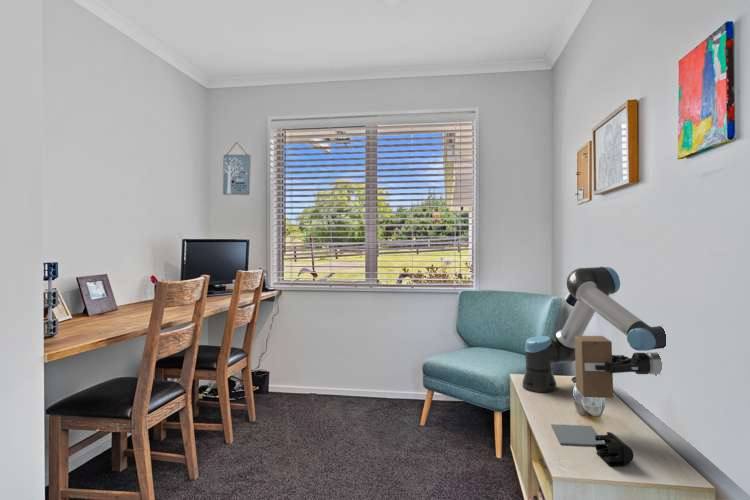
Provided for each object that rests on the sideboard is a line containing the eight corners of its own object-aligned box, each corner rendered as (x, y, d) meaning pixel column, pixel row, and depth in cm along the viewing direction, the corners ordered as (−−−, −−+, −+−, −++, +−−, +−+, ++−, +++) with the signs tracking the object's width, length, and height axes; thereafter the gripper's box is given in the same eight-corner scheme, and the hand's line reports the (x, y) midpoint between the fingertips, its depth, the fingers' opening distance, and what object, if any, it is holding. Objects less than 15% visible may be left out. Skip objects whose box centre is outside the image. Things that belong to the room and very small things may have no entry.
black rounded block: (634, 467, 135) (633, 445, 135) (610, 468, 136) (609, 445, 136) (617, 452, 145) (616, 431, 145) (595, 452, 146) (594, 431, 146)
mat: (551, 425, 168) (551, 424, 168) (591, 427, 165) (591, 425, 165) (560, 444, 152) (560, 442, 152) (605, 446, 149) (605, 444, 149)
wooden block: (613, 398, 158) (612, 341, 157) (583, 397, 159) (581, 341, 159) (604, 389, 167) (602, 335, 167) (576, 388, 169) (574, 335, 169)
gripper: (661, 383, 149) (590, 382, 153) (634, 365, 171) (572, 365, 175) (661, 360, 149) (589, 360, 153) (634, 345, 171) (572, 345, 175)
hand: (580, 362), depth 164 cm, fingers closed on wooden block, 10 cm apart
